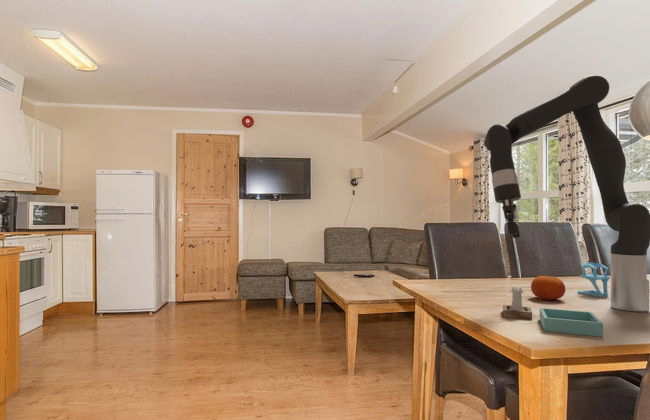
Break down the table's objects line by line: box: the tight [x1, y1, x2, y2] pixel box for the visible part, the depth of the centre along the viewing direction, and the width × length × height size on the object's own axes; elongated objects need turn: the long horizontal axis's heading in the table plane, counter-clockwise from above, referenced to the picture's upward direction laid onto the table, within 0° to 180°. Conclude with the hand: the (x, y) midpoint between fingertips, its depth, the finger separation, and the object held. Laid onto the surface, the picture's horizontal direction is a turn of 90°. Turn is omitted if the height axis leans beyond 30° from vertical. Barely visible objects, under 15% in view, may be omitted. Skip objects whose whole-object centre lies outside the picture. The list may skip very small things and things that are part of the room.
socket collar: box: [502, 304, 533, 320], centre depth 121 cm, size 8×8×2 cm
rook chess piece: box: [509, 286, 525, 311], centre depth 121 cm, size 4×4×8 cm
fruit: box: [530, 275, 566, 301], centre depth 144 cm, size 11×10×8 cm
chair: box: [576, 261, 611, 298], centre depth 152 cm, size 8×8×12 cm
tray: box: [539, 307, 604, 338], centre depth 108 cm, size 13×13×3 cm
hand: (515, 236), depth 127 cm, fingers open, 8 cm apart
